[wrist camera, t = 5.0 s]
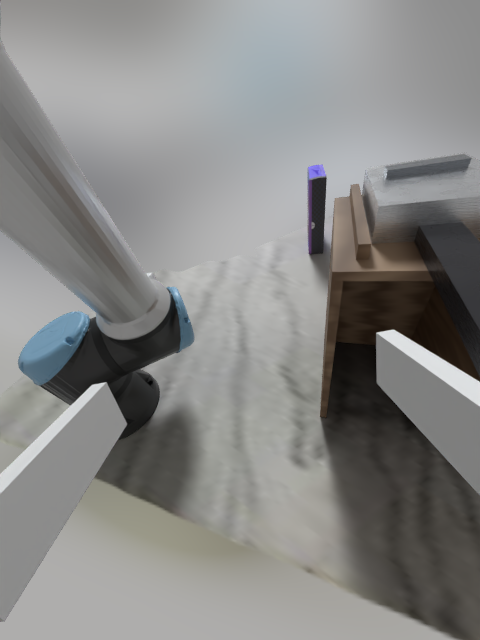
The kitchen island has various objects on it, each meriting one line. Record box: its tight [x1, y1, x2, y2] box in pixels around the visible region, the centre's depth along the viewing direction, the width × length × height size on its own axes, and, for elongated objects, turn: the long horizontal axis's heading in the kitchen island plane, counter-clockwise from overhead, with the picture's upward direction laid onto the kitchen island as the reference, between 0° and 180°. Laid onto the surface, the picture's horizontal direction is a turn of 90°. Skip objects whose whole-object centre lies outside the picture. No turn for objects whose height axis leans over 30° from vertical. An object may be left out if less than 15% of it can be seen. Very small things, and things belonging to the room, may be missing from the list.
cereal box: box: [308, 165, 326, 254], centre depth 79 cm, size 17×5×24 cm, turn 169°
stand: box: [320, 184, 480, 418], centre depth 33 cm, size 17×20×32 cm
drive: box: [362, 153, 480, 377], centre depth 18 cm, size 10×30×4 cm, turn 163°
